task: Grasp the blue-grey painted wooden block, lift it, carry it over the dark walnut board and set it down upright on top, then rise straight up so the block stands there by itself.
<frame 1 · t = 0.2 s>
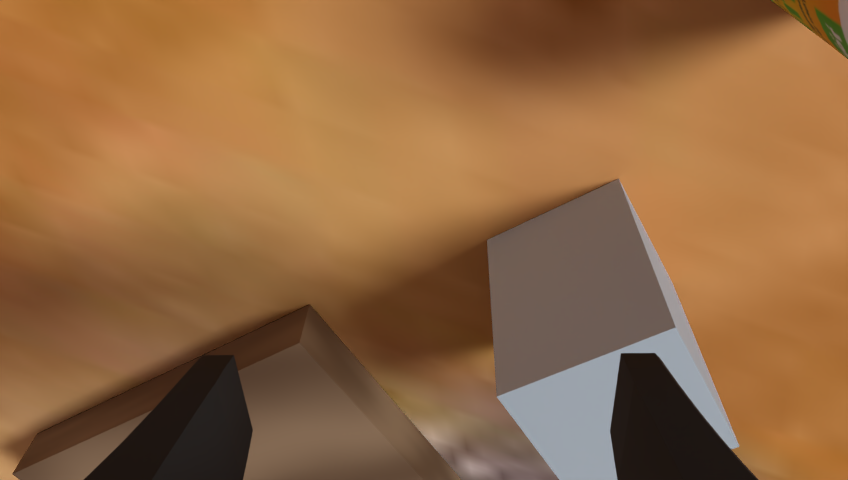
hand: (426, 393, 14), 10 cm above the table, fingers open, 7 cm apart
blue-grey block: (580, 261, 24), on the table
walnut board: (274, 478, 31), on the table
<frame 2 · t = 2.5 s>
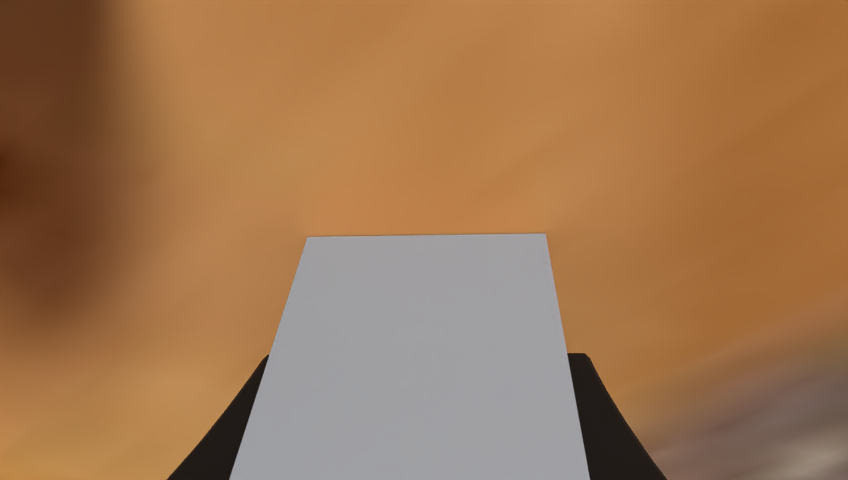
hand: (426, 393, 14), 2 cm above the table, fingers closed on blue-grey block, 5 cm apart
blue-grey block: (430, 326, 15), on the table, touching gripper
when the fingers open (5 cm above the table, at t = 9.0 s): blue-grey block stays where it is, resting on walnut board.
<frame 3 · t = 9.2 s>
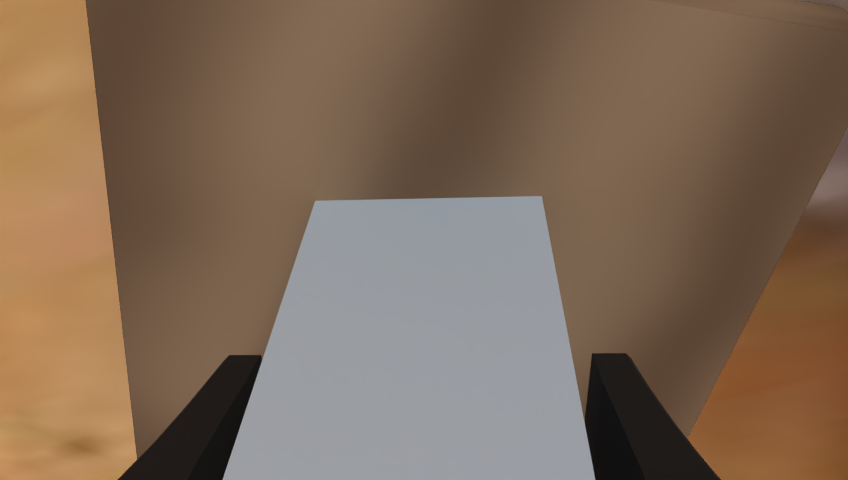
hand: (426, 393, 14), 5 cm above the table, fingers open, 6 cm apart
blue-grey block: (432, 288, 16), point 2 cm above the table, touching walnut board
walnut board: (434, 247, 18), on the table
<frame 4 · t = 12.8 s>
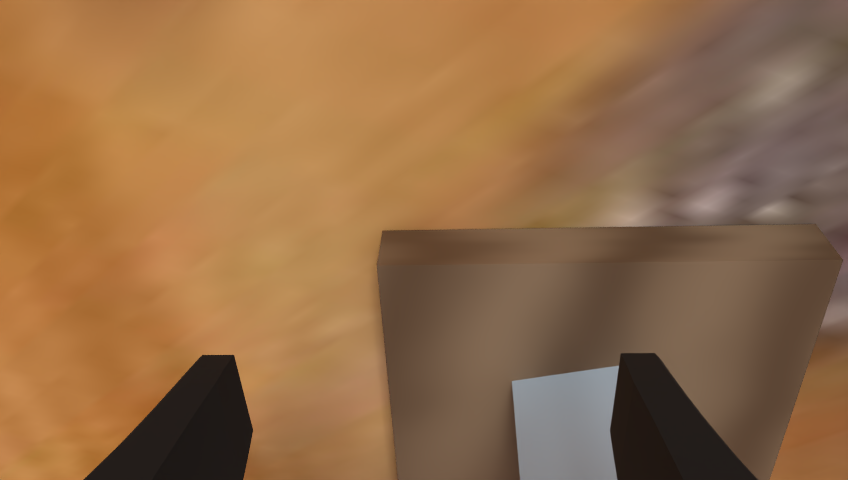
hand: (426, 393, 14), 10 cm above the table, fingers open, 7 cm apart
blue-grey block: (586, 417, 26), point 2 cm above the table, touching walnut board
walnut board: (579, 382, 27), on the table
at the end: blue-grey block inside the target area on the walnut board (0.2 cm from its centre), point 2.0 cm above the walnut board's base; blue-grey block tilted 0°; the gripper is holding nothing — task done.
